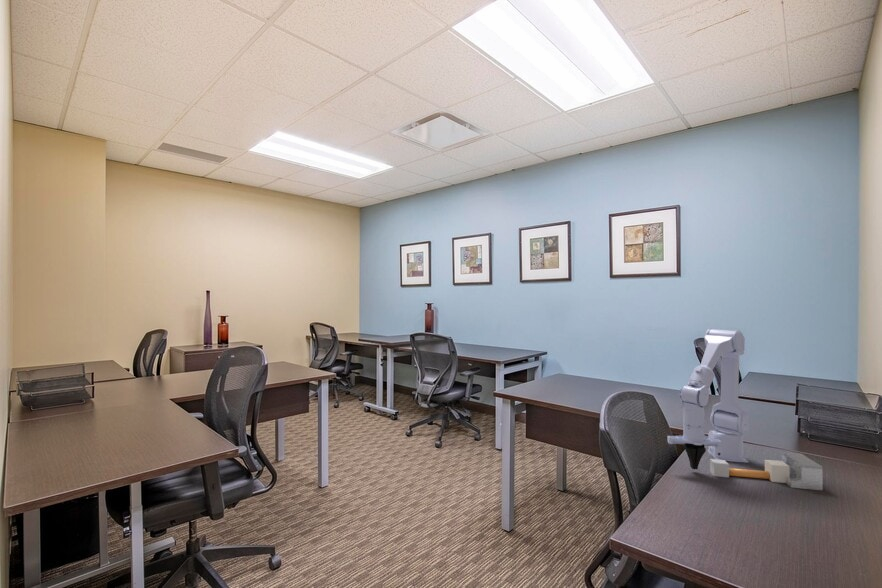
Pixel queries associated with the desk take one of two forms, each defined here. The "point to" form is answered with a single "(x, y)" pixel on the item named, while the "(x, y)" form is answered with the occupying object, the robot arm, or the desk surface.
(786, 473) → the plug
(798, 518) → the desk surface
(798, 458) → the housing
